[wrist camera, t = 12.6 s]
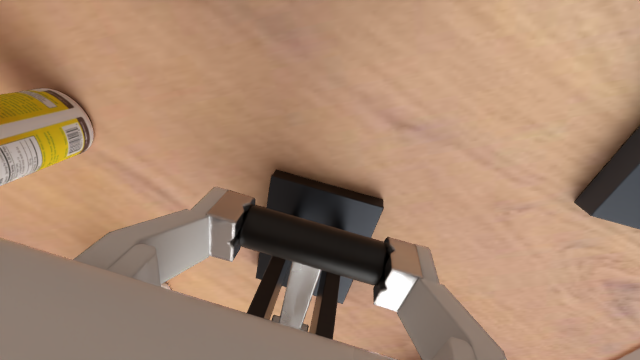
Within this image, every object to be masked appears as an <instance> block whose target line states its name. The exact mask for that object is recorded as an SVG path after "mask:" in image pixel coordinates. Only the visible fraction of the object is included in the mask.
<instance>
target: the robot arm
mask: <svg viewBox="0 0 640 360" xmlns="http://www.w3.org/2000/svg"><path fill="white" fill-rule="evenodd" d="M254 205H255V198H253V197H250V196H247V195H244V194H240V193H237V192H234V191H231V190H227V189H224V188H220V187H214V188H213V189H212V190H211V191H209V192H208V193H207V194H206V195H205V196H204V197H203V198H202V199H201V200H200V201H199V202H198V203H197V204H196V205H195V206H194V207H193V208H192V209H191V210H187V209H185V210H182V211H179V212H175V213H172V214H168V215H165V216H162V217H158V218H155V219H152V220H148V221H145V222H142V223H138V224H135V225H132V226H128V227H125V228H122V229H118V230H115V231H112V232H109V233H108V234H106V235H105V236H104V237H102V238H101V239H100V240H98V241H97V242H96V243H94V244H93V245H92V246H90V247H89V248H88V249H87V250H85V251H84V252H83V253H81V254H80V255H79V256H77V257H76V258H75V259H73V260H72V259H68V258H65V257H62V256H59V255H55V254H52V253H49V252H46V251H42V250H39V249H36V248H33V247H29V246H26V245H23V244H20V243H16V242H13V241H10V240H6V239H3V238H0V360H398V359H394V358H391V357H388V356H385V355H381V354H378V353H375V352H372V351H368V350H365V349H362V348H358V347H355V346H352V345H349V344H345V343H342V342H339V341H336V340H332V339H329V338H326V337H322V336H319V335H316V334H313V333H309V332H306V331H303V330H300V329H296V328H293V327H290V326H287V325H283V324H280V323H277V322H274V321H270V320H267V319H264V318H261V317H257V316H254V315H251V314H248V313H244V312H241V311H238V310H235V309H231V308H228V307H225V306H222V305H218V304H215V303H212V302H209V301H205V300H202V299H199V298H196V297H192V296H189V295H186V294H183V293H179V292H176V291H173V290H170V289H166V288H163V287H161V284H163V283H164V282H166V281H168V280H169V279H171V278H173V277H175V276H176V275H178V274H180V273H182V272H183V271H185V270H187V269H189V268H190V267H192V266H194V265H196V264H197V263H199V262H201V261H203V260H204V259H206V258H208V257H209V256H213V257H216V258H220V259H224V260H227V261H231V262H232V261H233V260H234V258H235V256H236V255H237V253H238V251H239V250H240V247H241V245H240V244H239V236H240V231H241V227H242V225H243V221H244V219H245V216H246V214H247V213H248V211H249V210H250V208H251V207H252V206H254ZM384 243H385V245H386V262H385V266H384V271H383V274H382V276H381V278H380V280H379V282H378V283H377V284H376V285H375V286H374V288H373V290H374V305H377V306H380V307H384V308H387V309H390V310H393V311H396V312H397V314H398V316H399V318H400V320H401V321H402V323H403V325H404V327H405V329H406V331H407V333H408V334H409V336H410V338H411V340H412V342H413V344H414V345H415V347H416V349H417V351H418V353H419V355H420V357H421V358H422V360H507V359H506V356H505V354H504V351H503V350H502V349H501V348H500V347H499V346H498V345H497V344H496V342H495V341H494V340H493V339H492V338H491V337H490V336H489V335H488V334H487V332H486V331H485V330H484V329H483V328H482V327H481V326H480V325H479V324H478V322H477V321H476V320H475V319H474V318H473V317H472V316H471V315H470V314H469V312H468V311H467V310H466V309H465V308H464V307H463V306H462V305H461V304H460V302H459V301H458V300H457V299H456V298H455V297H454V296H453V295H452V293H451V292H450V291H449V290H448V289H447V288H446V287H445V286H444V285H442V284H440V283H439V279H438V276H437V272H436V269H435V265H434V262H433V258H432V254H431V251H430V249H429V248H428V247H424V246H421V245H417V244H412V243H408V242H405V241H401V240H398V239H394V238H390V237H387V238H386V239H385V241H384Z"/></svg>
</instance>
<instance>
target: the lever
mask: <svg viewBox="0 0 640 360" xmlns="http://www.w3.org/2000/svg"><path fill="white" fill-rule="evenodd" d="M239 244H240V245H241V246H242V247H245V248H248V249H251V250H255V251H258V252H262V253H265V254H268V255H272V256H275V257H279V258H282V259H285V260H289V261H292V266H291V270H290V275H289V279H288V284H287V288H286V292H285V297H284V301H283V306H282V310H281V315H280V316H276V315H273V318H272V321H274V322H277V323H280V324H283V325H287V326H290V327H293V328H296V329H300V330H303V331H306V332H307V331H308V327H309V326H308V325H306V324H303V321H304V318H305V315H306V312H307V309H308V307H309V304H310V301H311V298H312V295H313V292H314V289H315V287H316V284H317V281H318V278H319V275H320V272H321V270H323V271H326V272H330V273H333V274H336V275H340V276H343V277H347V278H350V279H354V280H357V281H360V282H364V283H367V284H371V285H376V284H377V283H378V282H379V280H380V278H381V276H382V274H383V271H384V266H385V262H386V245H385V243H384V242H383V241H379V240H376V239H373V238H369V237H366V236H362V235H359V234H355V233H352V232H348V231H345V230H341V229H338V228H334V227H331V226H327V225H324V224H320V223H317V222H313V221H310V220H306V219H303V218H299V217H296V216H293V215H289V214H286V213H282V212H279V211H275V210H272V209H268V208H265V207H261V206H258V205H254V206H252V207H251V208H250V210H249V211H248V213H247V214H246V216H245V219H244V221H243V225H242V227H241V231H240V236H239Z"/></svg>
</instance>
